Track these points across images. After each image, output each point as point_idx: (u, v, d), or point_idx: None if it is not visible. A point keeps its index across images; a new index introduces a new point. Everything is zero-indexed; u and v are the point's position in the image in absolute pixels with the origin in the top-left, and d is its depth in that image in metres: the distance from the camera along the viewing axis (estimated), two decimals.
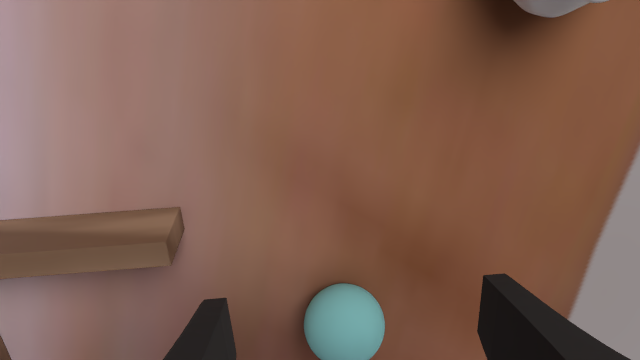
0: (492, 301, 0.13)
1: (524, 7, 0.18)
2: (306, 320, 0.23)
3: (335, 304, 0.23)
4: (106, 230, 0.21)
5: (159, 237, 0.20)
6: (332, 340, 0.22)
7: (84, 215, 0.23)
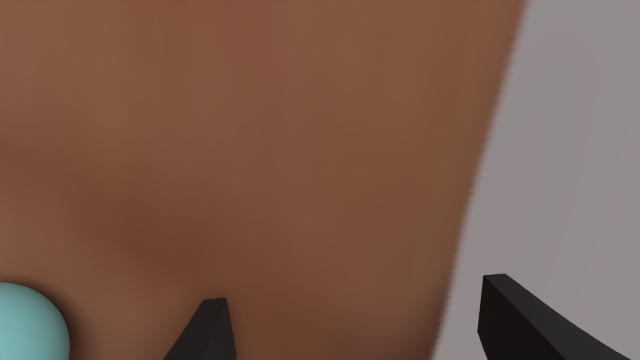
0: (492, 301, 0.13)
1: None
2: None
3: None
4: None
5: None
6: None
7: None
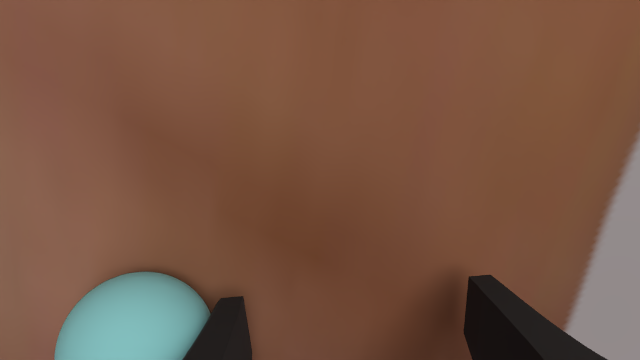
0: (477, 302, 0.13)
1: None
2: None
3: (96, 311, 0.12)
4: None
5: None
6: None
7: None
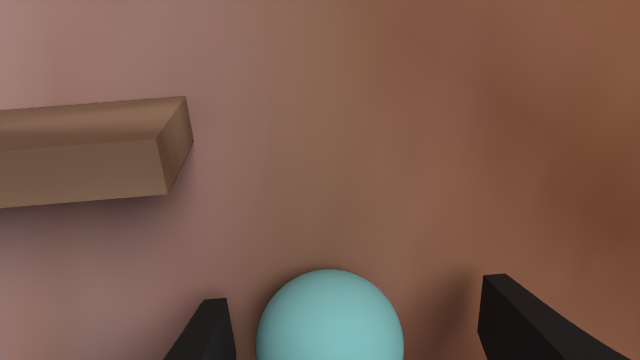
0: (492, 301, 0.13)
1: None
2: (267, 304, 0.13)
3: (317, 294, 0.12)
4: (35, 127, 0.10)
5: (142, 134, 0.10)
6: (282, 351, 0.12)
7: (1, 111, 0.12)
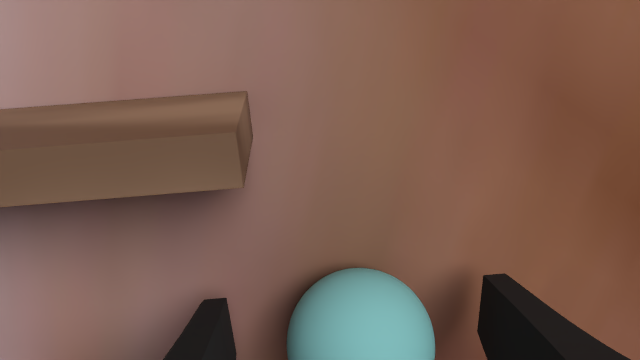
0: (492, 301, 0.13)
1: None
2: (307, 290, 0.14)
3: (346, 291, 0.12)
4: (107, 121, 0.10)
5: (220, 127, 0.10)
6: (302, 338, 0.12)
7: (65, 106, 0.12)
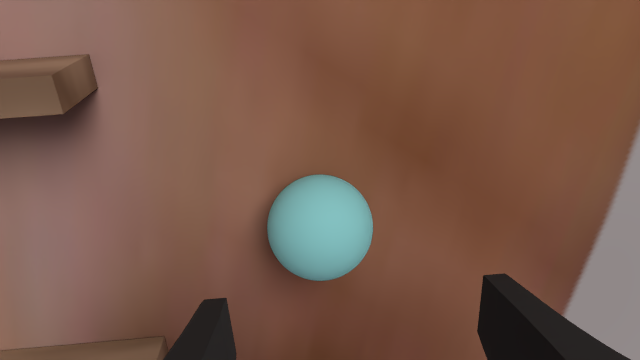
0: (492, 301, 0.13)
1: None
2: (324, 227, 0.16)
3: (326, 181, 0.17)
4: None
5: (45, 73, 0.15)
6: (362, 206, 0.17)
7: None
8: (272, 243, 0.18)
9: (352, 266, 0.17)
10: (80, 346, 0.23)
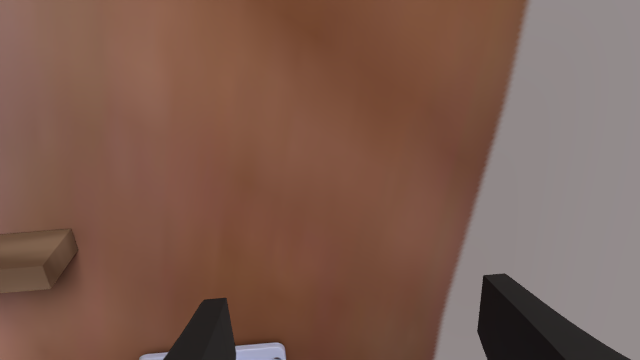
0: (492, 301, 0.13)
1: None
2: None
3: None
4: None
5: None
6: None
7: None
8: None
9: None
10: None
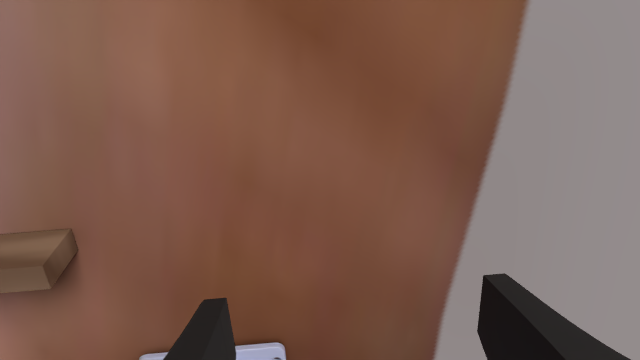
0: (492, 301, 0.13)
1: None
2: None
3: None
4: None
5: None
6: None
7: None
8: None
9: None
10: None
